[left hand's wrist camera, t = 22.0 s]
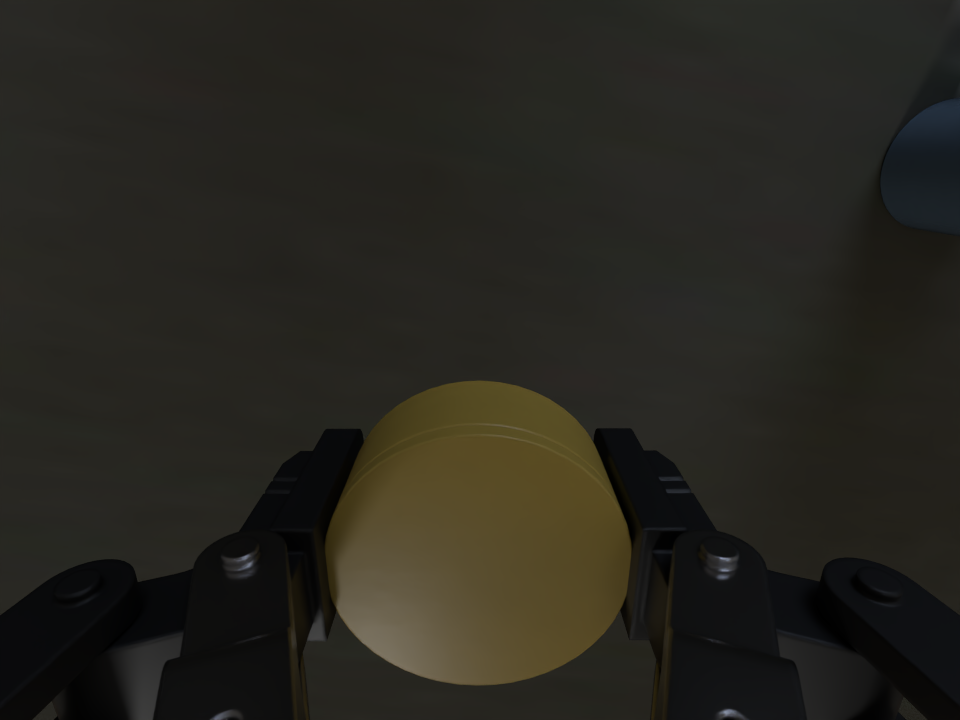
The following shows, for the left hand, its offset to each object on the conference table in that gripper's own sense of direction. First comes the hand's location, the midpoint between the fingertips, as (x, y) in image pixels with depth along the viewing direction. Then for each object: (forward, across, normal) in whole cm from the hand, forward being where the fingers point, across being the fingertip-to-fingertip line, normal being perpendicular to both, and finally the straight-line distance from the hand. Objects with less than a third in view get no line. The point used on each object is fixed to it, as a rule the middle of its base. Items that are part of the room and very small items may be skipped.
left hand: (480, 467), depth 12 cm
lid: (-3, 0, 0) cm, 3 cm away
